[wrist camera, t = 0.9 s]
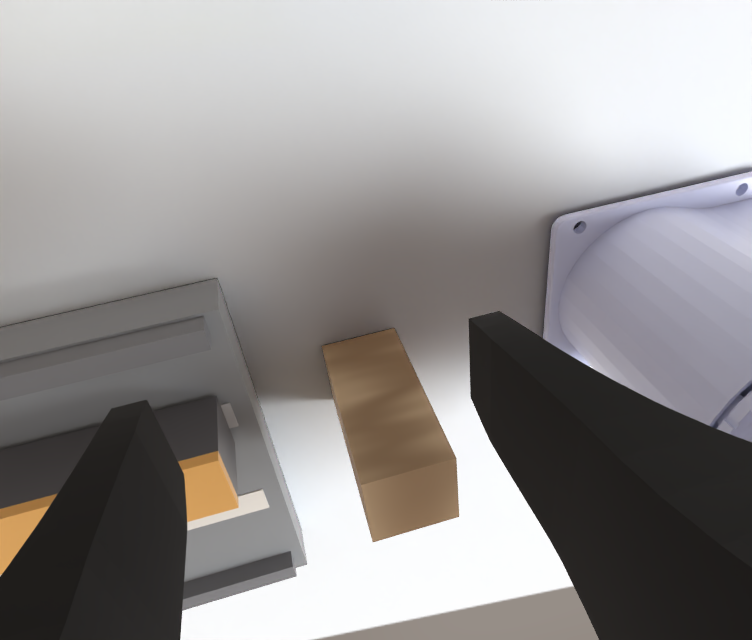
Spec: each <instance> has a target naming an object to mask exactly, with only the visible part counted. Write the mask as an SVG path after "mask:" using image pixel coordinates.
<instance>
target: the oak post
mask: <svg viewBox="0 0 752 640" xmlns="http://www.w3.org/2000/svg"><path fill="white" fill-rule="evenodd" d="M322 350H323V354H324V359H325V363H326V368H327V372H328V377H329V381H330V386H331V390H332V394H333V399H334V403H335V406H336V410H337V414H338V417H339V421H340V425H341V428H342V432H343V435H344V439H345V443H346V446H347V450H348V454H349V457H350V461H351V464H352V468H353V472H354V475H355V479H356V483H357V486H358V490H359V494H360V497H361V501H362V504H363V508H364V512H365V515H366V519H367V523H368V526H369V530H370V533H371V537H372V541H373V542H376V541H379V540H382V539H386V538H389V537H392V536H396V535H399V534H402V533H406V532H409V531H412V530H416V529H419V528H423V527H426V526H429V525H433V524H436V523H439V522H443V521H446V520H449V519H453V518H456V517H459V505H458V484H457V464H456V457H455V455H454V452H453V450H452V448H451V446H450V444H449V442H448V440H447V438H446V436H445V434H444V431H443V429H442V427H441V425H440V423H439V421H438V419H437V417H436V415H435V413H434V410H433V408H432V406H431V404H430V402H429V400H428V398H427V396H426V394H425V392H424V389H423V387H422V385H421V383H420V381H419V379H418V377H417V375H416V373H415V371H414V368H413V366H412V364H411V362H410V360H409V358H408V356H407V354H406V352H405V349H404V347H403V345H402V343H401V341H400V339H399V337H398V335H397V333H396V331H395V328H392V329H388V330H384V331H380V332H376V333H372V334H368V335H364V336H360V337H356V338H352V339H348V340H344V341H340V342H336V343H332V344H328V345H324V346H322Z"/></svg>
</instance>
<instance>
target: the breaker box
mask: <svg viewBox="0 0 752 640" xmlns="http://www.w3.org/2000/svg"><path fill="white" fill-rule="evenodd" d="M214 396H217V398H218V400H219V403H220V405H221V408H222V411H223V413H224V416H225V418H226V421H227V423H228V426H229V428H230V431H231V433H232V436H233V438H234V441H235V452H236V469H237V485H238V501H239V508H236V509H232V510H229V511H225V512H222V513H218V514H215V515H211V516H207V517H204V518H200V519H197V520H193V521H190V522H187V545H186V561H185V576H184V590H183V605H182V610H186V609H189V608H192V607H196V606H199V605H202V604H206V603H209V602H212V601H216V600H219V599H222V598H226V597H229V596H232V595H236V594H239V593H242V592H246V591H249V590H252V589H256V588H259V587H262V586H265V585H269V584H272V583H275V582H279V581H282V580H285V579H289V578H292V577H295V576H296V569H295V568H297V567H300V566H303V565H307V560H306V554H305V548H304V542H303V536H302V529H301V526H300V523H299V520H298V517H297V514H296V511H295V508H294V505H293V502H292V499H291V496H290V493H289V490H288V487H287V484H286V481H285V478H284V475H283V472H282V469H281V466H280V463H279V460H278V457H277V455H276V452H275V449H274V446H273V443H272V440H271V437H270V434H269V431H268V428H267V425H266V422H265V419H264V416H263V413H262V410H261V407H260V404H259V401H258V398H257V395H256V392H255V389H254V386H253V383H252V380H251V377H250V374H249V371H248V368H247V365H246V362H245V359H244V356H243V353H242V350H241V347H240V344H239V341H238V338H237V335H236V332H235V329H234V326H233V323H232V320H231V317H230V314H229V311H228V308H227V305H226V302H225V299H224V296H223V293H222V291H221V288H220V285H219V282H218V279H217V278H216V279H212V280H207V281H203V282H198V283H194V284H190V285H185V286H181V287H176V288H172V289H168V290H163V291H159V292H154V293H150V294H146V295H141V296H137V297H132V298H128V299H123V300H119V301H115V302H110V303H106V304H101V305H97V306H93V307H88V308H84V309H79V310H75V311H71V312H66V313H62V314H57V315H53V316H49V317H44V318H40V319H35V320H31V321H27V322H22V323H18V324H13V325H9V326H5V327H0V451H1V450H5V449H9V448H13V447H17V446H21V445H25V444H29V443H32V442H36V441H40V440H44V439H48V438H52V437H56V436H60V435H64V434H68V433H72V432H76V431H80V430H84V429H88V428H92V427H95V426H99V425H101V424H102V422H103V421H104V419H105V418H106V416H107V414H108V413H109V411H110V410H111V408H115V407H119V406H123V405H127V404H131V403H135V402H139V401H143V400H147V401H148V403H149V405H150V407H151V409H152V411H153V412H155V411H158V410H162V409H166V408H170V407H174V406H178V405H182V404H186V403H190V402H194V401H198V400H202V399H206V398H210V397H214Z"/></svg>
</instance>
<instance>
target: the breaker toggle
mask: <svg viewBox="0 0 752 640" xmlns="http://www.w3.org/2000/svg"><path fill="white" fill-rule="evenodd" d="M153 413H154V415H155V417H156V419H157V421H158V423H159V425H160V427H161V429H162V431H163V433H164V435H165V437H166V439H167V441H168V443H169V445H170V447H171V449H172V451H173V453H174V455H175V457H176V459H177V461H178V463H179V465H180V467H181V469H182V471H183V473H184V479H185V492H186V508H187V522H190V521H193V520H197V519H200V518H204V517H207V516H211V515H215V514H218V513H222V512H225V511H229V510H232V509H236V508H239V501H238V485H237V469H236V452H235V441H234V438H233V436H232V433H231V431H230V428H229V426H228V423H227V421H226V418H225V416H224V413H223V411H222V408H221V405H220V403H219V400H218V398H217V396H214V397H210V398H206V399H202V400H198V401H194V402H190V403H186V404H182V405H178V406H174V407H170V408H166V409H162V410H158V411H155V412H153ZM99 427H100V425H99V426H95V427H92V428H88V429H84V430H80V431H76V432H72V433H68V434H64V435H60V436H56V437H52V438H48V439H44V440H40V441H36V442H32V443H29V444H25V445H21V446H17V447H13V448H9V449H5V450H1V451H0V575H1V574H3V572H4V571H5V570H6V568H7V567H8V565H9V564H10V563H11V561H12V560H13V558H14V557H15V555H16V554H17V553H18V551H19V550H20V548H21V547H22V546H23V544H24V543H25V541H26V540H27V539H28V537H29V536H30V534H31V533H32V532H33V530H34V529H35V527H36V526H37V524H38V523H39V521H40V520H41V518H42V517H43V515H44V514H45V512H46V511H47V509H48V508H49V506H50V505H51V503H52V502H53V500H54V499H55V497H56V495H57V494H58V492H59V491H60V489H61V488H62V486H63V485H64V483H65V482H66V480H67V478H68V477H69V475H70V474H71V472H72V470H73V469H74V467H75V466H76V464H77V462H78V461H79V459H80V458H81V456H82V454H83V453H84V451H85V450H86V448H87V446H88V445H89V443H90V441H91V440H92V438H93V437H94V435H95V433H96V432H97V430H98V428H99Z"/></svg>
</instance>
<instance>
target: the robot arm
mask: <svg viewBox="0 0 752 640" xmlns="http://www.w3.org/2000/svg"><path fill="white" fill-rule="evenodd" d="M738 187H739V188H738ZM737 188H738V189H737ZM580 221H581V223H580V225H579V226H578V227H577V228H576V229H574V226H575V225H576V224H577V223H578V222H580ZM469 345H470V387H471V399H472V401H473V403H474V406H475V408H476V410H477V413H478V415H479V417H480V420H481V422H482V424H483V426H484V428H485V431H486V433H487V435H488V437H489V439H490V441H491V443H492V445H493V447H494V448H495V450H496V452H497V453H498V455H499V457H500V458H501V460H502V462H503V463H504V465H505V467H506V468H507V470H508V472H509V473H510V475H511V477H512V478H513V480H514V482H515V483H516V485H517V487H518V488H519V490H520V491H521V493H522V495H523V496H524V498H525V500H526V501H527V503H528V505H529V506H530V508H531V509H532V511H533V513H534V514H535V516H536V518H537V519H538V521H539V523H540V524H541V526H542V527H543V529H544V531H545V532H546V534H547V536H548V537H549V539H550V541H551V543H552V544H553V546H554V548H555V550H556V552H557V553H558V555H559V557H560V559H561V561H562V562H563V564H564V567H565V569H566V571H567V573H568V575H569V577H570V579H571V581H572V583H573V585H574V587H575V589H576V591H577V593H578V595H579V598H580V600H581V602H582V604H583V606H584V608H585V610H586V612H587V614H588V616H589V618H590V620H591V623H592V625H593V627H594V629H595V631H596V634H597V636H598V638H599V640H752V171H751V172H747V173H743V174H738V175H734V176H730V177H725V178H721V179H717V180H712V181H708V182H704V183H700V184H695V185H691V186H687V187H682V188H678V189H674V190H669V191H665V192H661V193H656V194H652V195H648V196H643V197H639V198H635V199H630V200H626V201H622V202H617V203H613V204H609V205H604V206H600V207H596V208H591V209H587V210H583V211H578V212H574V213H570V214H565V215H562V216H560V217H559V218H557V219H556V220H555V222H554V223H553V225H552V228H551V239H550V252H549V266H548V279H547V292H546V306H545V319H544V332H543V338H541V337H540V336H538V335H537V334H535V333H533V332H532V331H530V330H529V329H527V328H526V327H524V326H522V325H521V324H519V323H518V322H516V321H514V320H513V319H511V318H510V317H508V316H506V315H505V314H503V313H501V312H500V311H498V312H494V313H490V314H486V315H482V316H478V317H474V318H470V319H469ZM589 366H591V367H592V368H591V367H589ZM186 545H187V508H186V492H185V479H184V473H183V471H182V469H181V467H180V465H179V463H178V461H177V459H176V457H175V455H174V453H173V451H172V449H171V447H170V445H169V443H168V441H167V439H166V437H165V435H164V433H163V431H162V429H161V427H160V425H159V423H158V421H157V419H156V417H155V415H154V413H153V411H152V409H151V407H150V405H149V403H148V401H147V400H143V401H139V402H135V403H131V404H127V405H123V406H119V407H115V408H111V410H110V411H109V413H108V414H107V416H106V418H105V419H104V421H103V422H102V424H101V425H100V427H99V428H98V430H97V432H96V433H95V435H94V437H93V438H92V440H91V441H90V443H89V445H88V446H87V448H86V450H85V451H84V453H83V454H82V456H81V458H80V459H79V461H78V462H77V464H76V466H75V467H74V469H73V470H72V472H71V474H70V475H69V477H68V478H67V480H66V482H65V483H64V485H63V486H62V488H61V489H60V491H59V492H58V494H57V495H56V497H55V499H54V500H53V502H52V503H51V505H50V506H49V508H48V509H47V511H46V512H45V514H44V515H43V517H42V518H41V520H40V521H39V523H38V524H37V526H36V527H35V529H34V530H33V532H32V533H31V534H30V536H29V537H28V539H27V540H26V541H25V543H24V544H23V546H22V547H21V548H20V550H19V551H18V553H17V554H16V555H15V557H14V558H13V560H12V561H11V563H10V564H9V565H8V567H7V568H6V570H5V571H4V572H3V574H2V575H1V576H0V640H180V633H181V619H182V605H183V590H184V576H185V561H186Z"/></svg>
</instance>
